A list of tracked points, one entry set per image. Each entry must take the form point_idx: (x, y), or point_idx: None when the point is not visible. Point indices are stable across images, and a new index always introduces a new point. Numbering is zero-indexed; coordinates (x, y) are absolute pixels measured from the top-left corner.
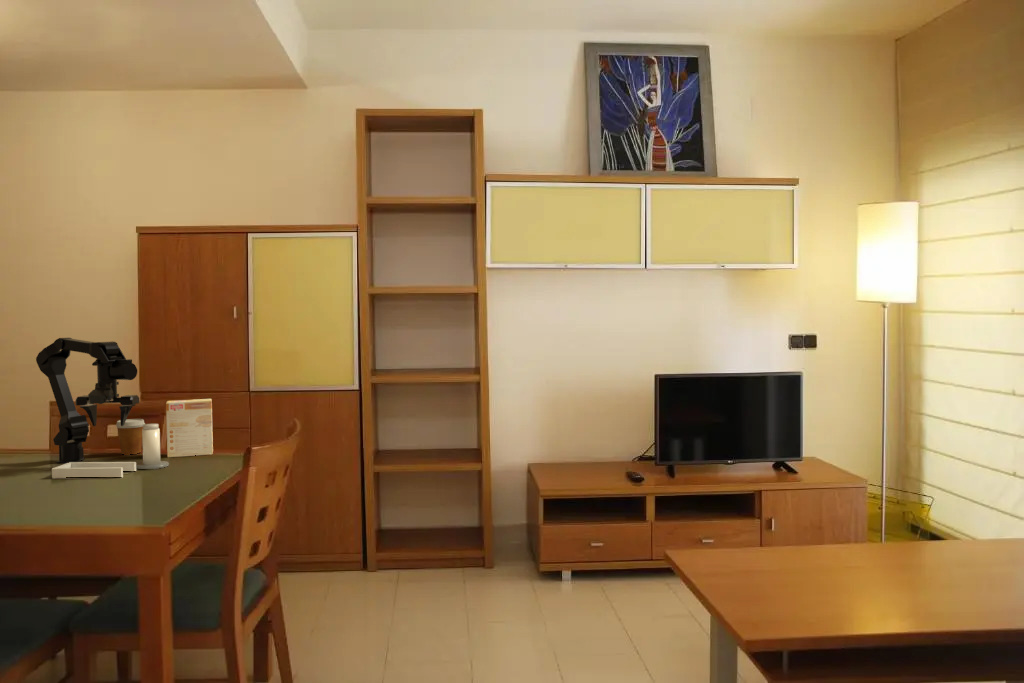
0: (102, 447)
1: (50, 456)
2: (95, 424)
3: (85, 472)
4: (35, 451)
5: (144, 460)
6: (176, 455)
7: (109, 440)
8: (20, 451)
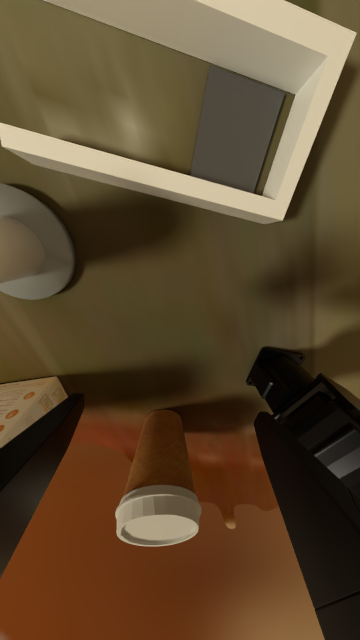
0: (231, 470)
1: None
2: (259, 428)
3: None
4: None
5: (12, 224)
6: (33, 381)
7: (230, 504)
8: None
